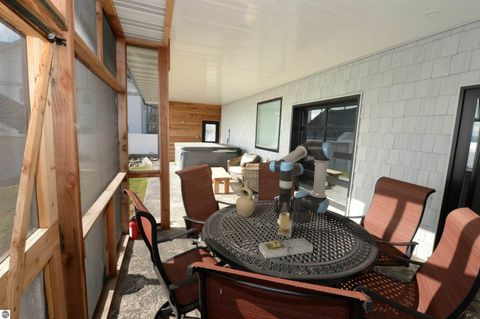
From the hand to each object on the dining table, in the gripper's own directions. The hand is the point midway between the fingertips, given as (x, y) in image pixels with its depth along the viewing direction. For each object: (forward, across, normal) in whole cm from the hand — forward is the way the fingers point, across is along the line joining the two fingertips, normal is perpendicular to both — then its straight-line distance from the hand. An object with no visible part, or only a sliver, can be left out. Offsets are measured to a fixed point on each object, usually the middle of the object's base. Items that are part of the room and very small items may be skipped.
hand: (283, 223), depth 142 cm
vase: (+15, +9, -51) cm, 54 cm away
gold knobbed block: (0, 0, 0) cm, 0 cm away
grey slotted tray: (+15, 0, +7) cm, 16 cm away
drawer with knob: (+15, +8, +7) cm, 18 cm away
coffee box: (+15, -9, -14) cm, 22 cm away
